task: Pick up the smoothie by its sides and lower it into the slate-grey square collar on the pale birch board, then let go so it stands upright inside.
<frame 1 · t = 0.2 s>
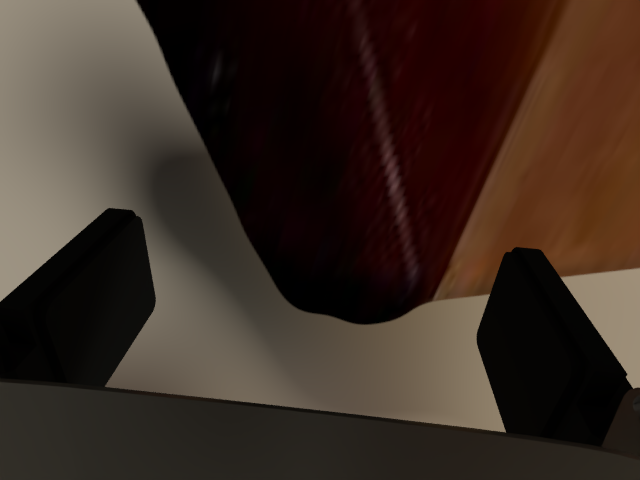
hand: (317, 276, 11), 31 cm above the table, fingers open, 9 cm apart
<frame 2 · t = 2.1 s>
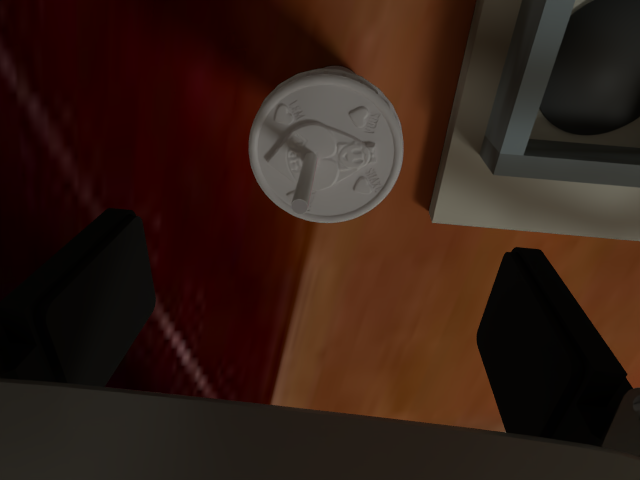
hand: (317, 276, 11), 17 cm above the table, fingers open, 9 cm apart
holder: (592, 63, 23), on the table
smoothie: (335, 97, 25), on the table
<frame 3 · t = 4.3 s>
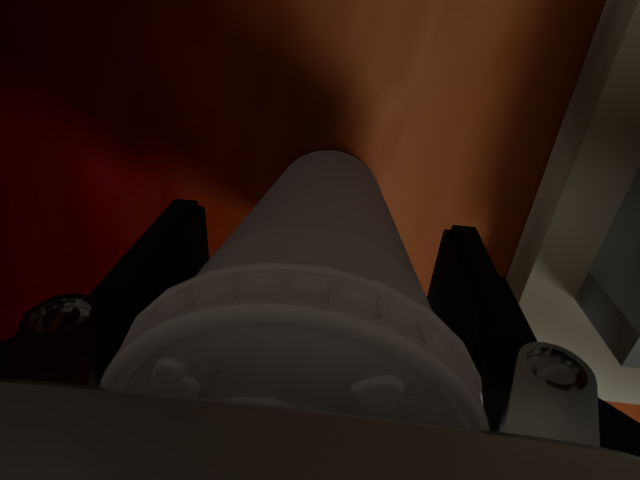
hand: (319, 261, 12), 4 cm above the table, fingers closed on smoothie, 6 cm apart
smoothie: (329, 197, 15), on the table, touching gripper
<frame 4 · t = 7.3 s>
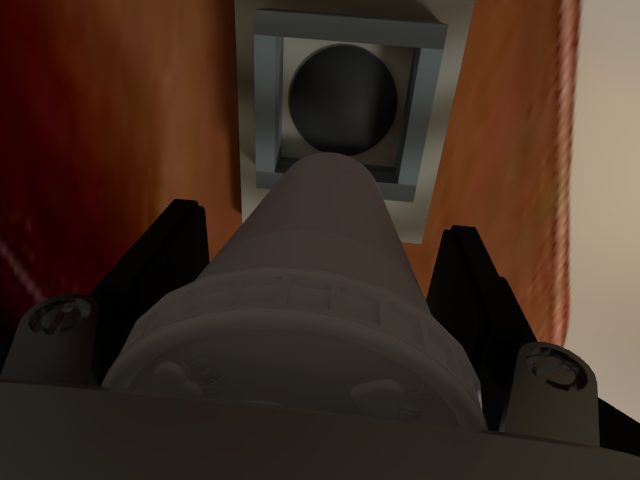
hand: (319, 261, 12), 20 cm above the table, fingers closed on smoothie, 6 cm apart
holder: (343, 98, 29), on the table
smoothie: (328, 199, 15), point 16 cm above the table, touching gripper
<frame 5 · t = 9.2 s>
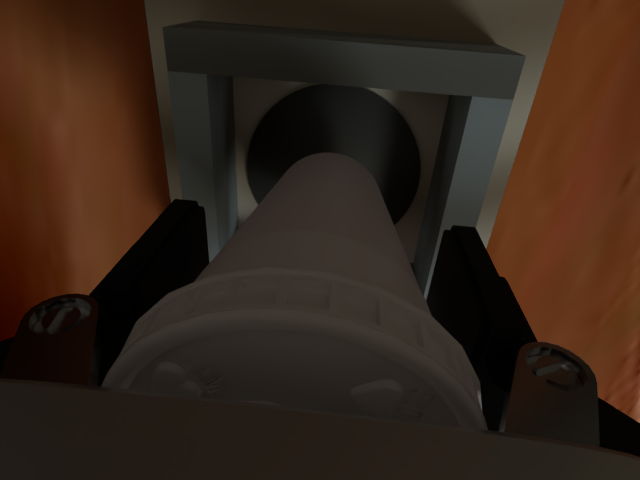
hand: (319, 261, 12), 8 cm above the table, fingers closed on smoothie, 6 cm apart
holder: (334, 160, 19), on the table
smoothie: (328, 199, 15), point 4 cm above the table, touching gripper
when the fingers open (7 cm above the table, at t = 10.8 s): smoothie drops 1 cm, resting on holder.
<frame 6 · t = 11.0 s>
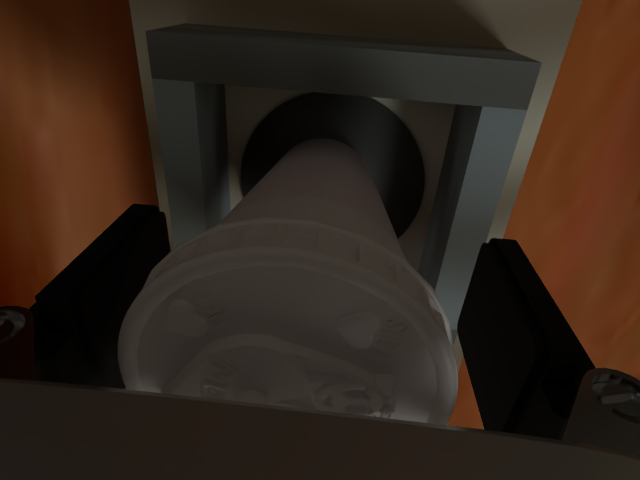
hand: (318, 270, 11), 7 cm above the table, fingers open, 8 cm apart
holder: (333, 170, 18), on the table
smoothie: (323, 183, 16), point 2 cm above the table, touching holder
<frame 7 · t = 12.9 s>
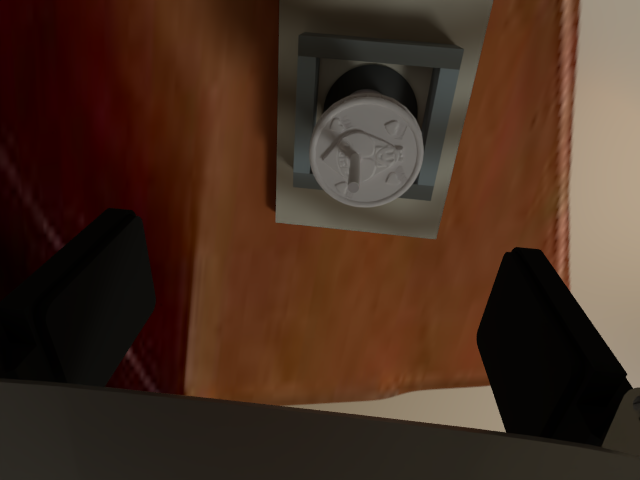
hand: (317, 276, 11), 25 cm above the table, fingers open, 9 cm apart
holder: (369, 109, 33), on the table
smoothie: (365, 113, 32), point 2 cm above the table, touching holder
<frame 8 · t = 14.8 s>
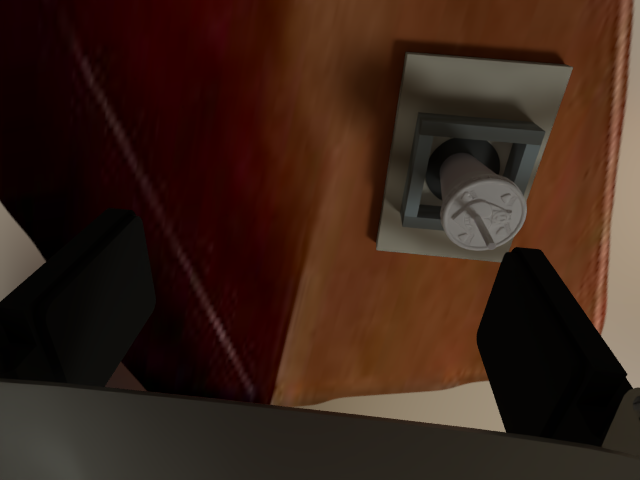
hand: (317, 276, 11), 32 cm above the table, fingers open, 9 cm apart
holder: (458, 165, 42), on the table
smoothie: (458, 170, 41), point 2 cm above the table, touching holder
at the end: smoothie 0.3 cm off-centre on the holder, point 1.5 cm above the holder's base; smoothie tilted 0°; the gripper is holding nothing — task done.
